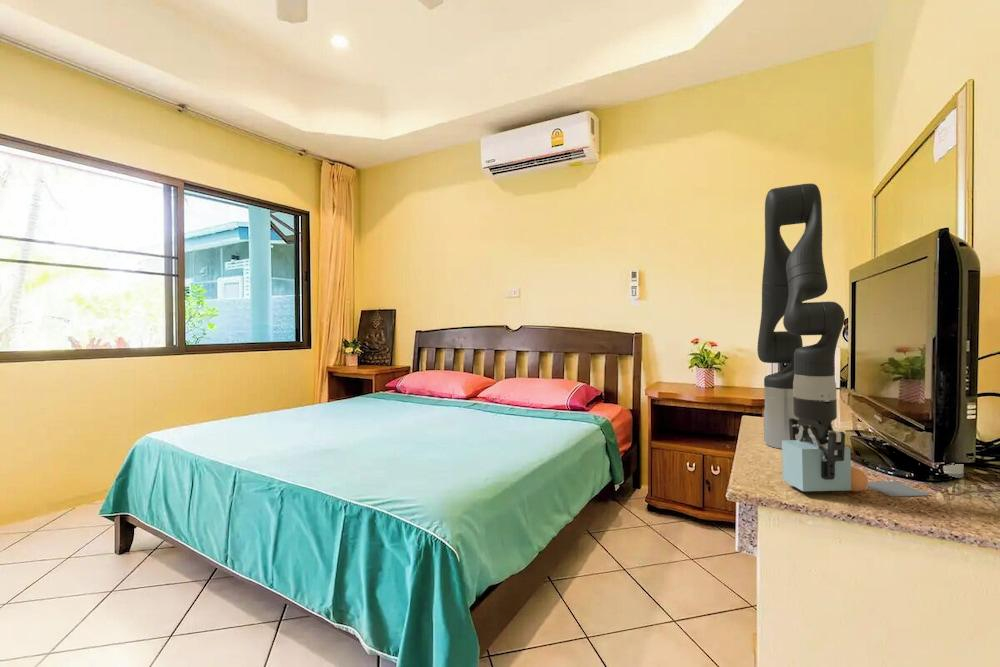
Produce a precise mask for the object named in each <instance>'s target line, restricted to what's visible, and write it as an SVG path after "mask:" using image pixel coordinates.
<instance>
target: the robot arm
mask: <svg viewBox="0 0 1000 667" xmlns="http://www.w3.org/2000/svg"><path fill="white" fill-rule="evenodd" d="M822 204H823V203H822V196H821V191H820V188H819V186H818V185H817V184H815V183H801V184H794V185H788V186H779V187H774V188H771V189H770V190H769V191H768V192H767V194H766V197H765V202H764V260H763V268H762V279H761V280H762V283H761V312H760V315H761V316H760V323H759V330H758V338H757V347H756V348H757V356H758V359H759V360H760V361H761V362H762V363H767V364H787V366H785V368H783V369H781V370H780V371H778V372H774V373H772V374H767V375H766V376H764V378H763V386H764V387H763V390H764V391H763V392H764V410H763V441H764V442H765V445H767V446H768V447H771V448H776V449H781V450H782V440H798V441H807V442H811V443H812V444H814V447H815V448H817V449H819V450H820V451H821V459H822V461H821V477H822V478H823V479H825V480H833V479H834V478H835V462H836V461H844V450H845V446H846V444H845V443H846V434H845V432H843V431H836V430H834V428H833V426H832V422H833V421H834V420H836V419H837V417H838V416H837V415H838V414H837V413H838V412H837V411H838V410H837V408H838V406H837V401H838V400H837V383H836V377H835V376H836V374H835V356H836V349H837V344H838V341H839V339H840V335H841V332H842V329H843V327H844V324H845V320H846V319H845V318H846V315H845V310H844V308H843V307H842V306H841V305H840V303H838V302H835V301H813V302H811V301H810V302H809V300H813V299H817V298H819V297H822V296H823V295H824V294H826V292H827V290H828V280H827V274H826V269H825V264H824V256H823V209H822V208H823V207H822ZM797 224H799V225H800V224H805V225H804V226H805V227H804V231H803V234H802V235H801V237H800V239H799V240H798V242H797V243H796V245H795V246H794V247H793V249H792V251H791V250H790V249H789V247H788V246H787V244H786V242H785V240H784V239H783V237H782V234H781V227H782V226H789V225H797ZM806 301H808V302H806ZM782 318H783V319H782ZM781 319H782V320H783V322H782V324H783V327H784V329H785V331H775V329H776V328H777V325H778V324H779V322H780V321H781ZM802 336H821V337H820V339H819V341H818V342H816V343H814V344H811V345H805V346H803V338H802ZM826 443H828V445H825V444H826ZM825 449H828V455H826V453H825ZM835 450H838V452H837V455H836V453H835Z"/></svg>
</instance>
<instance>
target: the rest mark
mask: <svg viewBox="0 0 1000 667" xmlns="http://www.w3.org/2000/svg"><path fill="white" fill-rule="evenodd" d="M866 488H870V489H872V490H874V491H877V492H879V493H881V494H883V495H886V496H888V497H890V498H904V497H905V498H907V497H908V498H909V497H910V498H912V497H932V495H931V494H929V493H927V492H924V491H921V490H919V489H916V488H913V487H912V486H908V485H907V484H905V483H902V482H900V481H897V480H892V481H891V480H885V481H883V480H882V481H881V480H880V481H868V484H867V486H866Z"/></svg>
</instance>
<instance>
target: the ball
mask: <svg viewBox="0 0 1000 667" xmlns="http://www.w3.org/2000/svg"><path fill="white" fill-rule="evenodd" d="M868 482H869V479H868V477H867V475H866V474H865V471H863V470H861V469H860V468H858V467H854V466H851V490H849V491H850V492H860V491H863V490H865V489H866V488H867V484H868Z"/></svg>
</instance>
